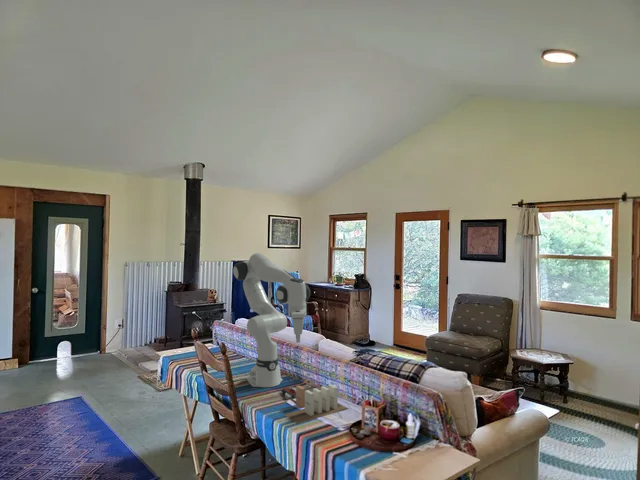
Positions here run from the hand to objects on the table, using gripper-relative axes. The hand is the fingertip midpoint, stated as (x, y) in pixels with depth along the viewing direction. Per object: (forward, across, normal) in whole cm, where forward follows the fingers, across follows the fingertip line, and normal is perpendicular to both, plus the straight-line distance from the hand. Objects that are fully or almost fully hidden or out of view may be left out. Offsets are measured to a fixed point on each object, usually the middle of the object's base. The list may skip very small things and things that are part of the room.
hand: (297, 340), depth 208 cm
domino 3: (+31, +10, +8) cm, 34 cm away
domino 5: (+31, +5, +16) cm, 36 cm away
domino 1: (+32, +3, +1) cm, 32 cm away
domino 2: (+31, +12, +4) cm, 34 cm away
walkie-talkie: (+32, -11, -2) cm, 34 cm away
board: (+32, +10, +8) cm, 35 cm away
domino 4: (+31, +8, +12) cm, 34 cm away
